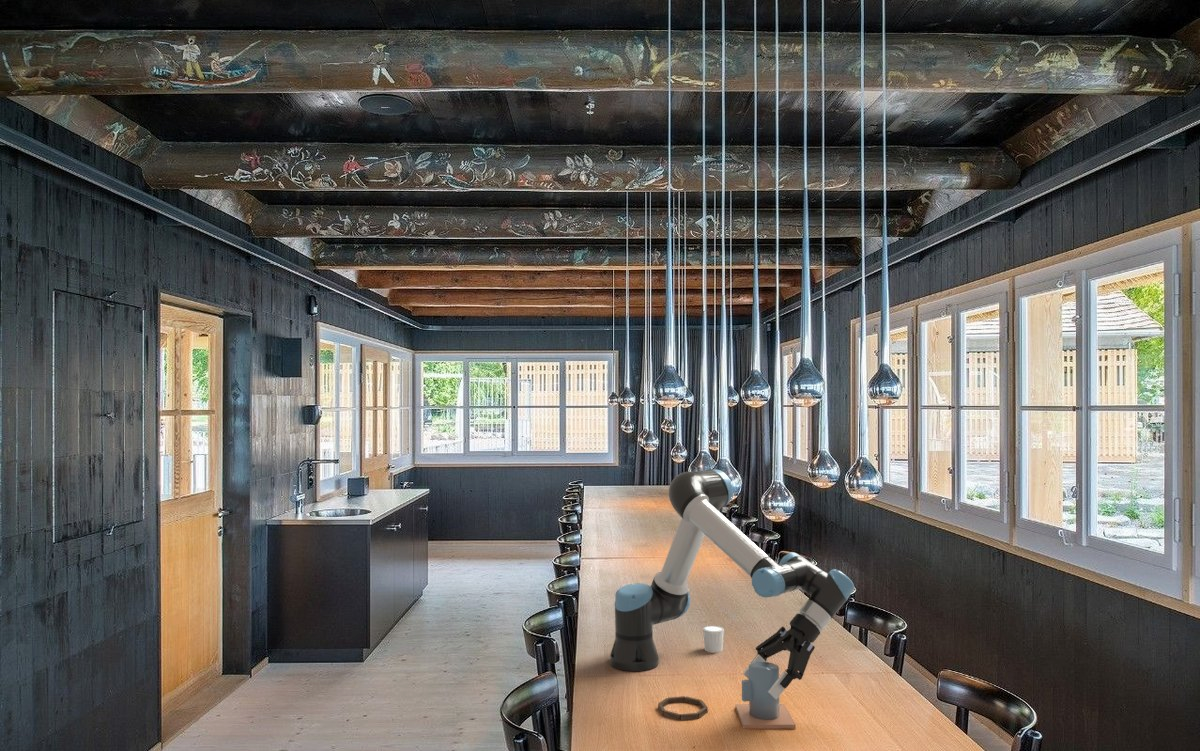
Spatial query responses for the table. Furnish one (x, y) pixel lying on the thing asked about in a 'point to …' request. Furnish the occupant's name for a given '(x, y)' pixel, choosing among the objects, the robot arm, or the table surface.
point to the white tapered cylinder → (713, 638)
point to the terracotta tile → (753, 723)
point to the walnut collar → (682, 716)
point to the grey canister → (761, 690)
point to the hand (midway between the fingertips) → (758, 686)
